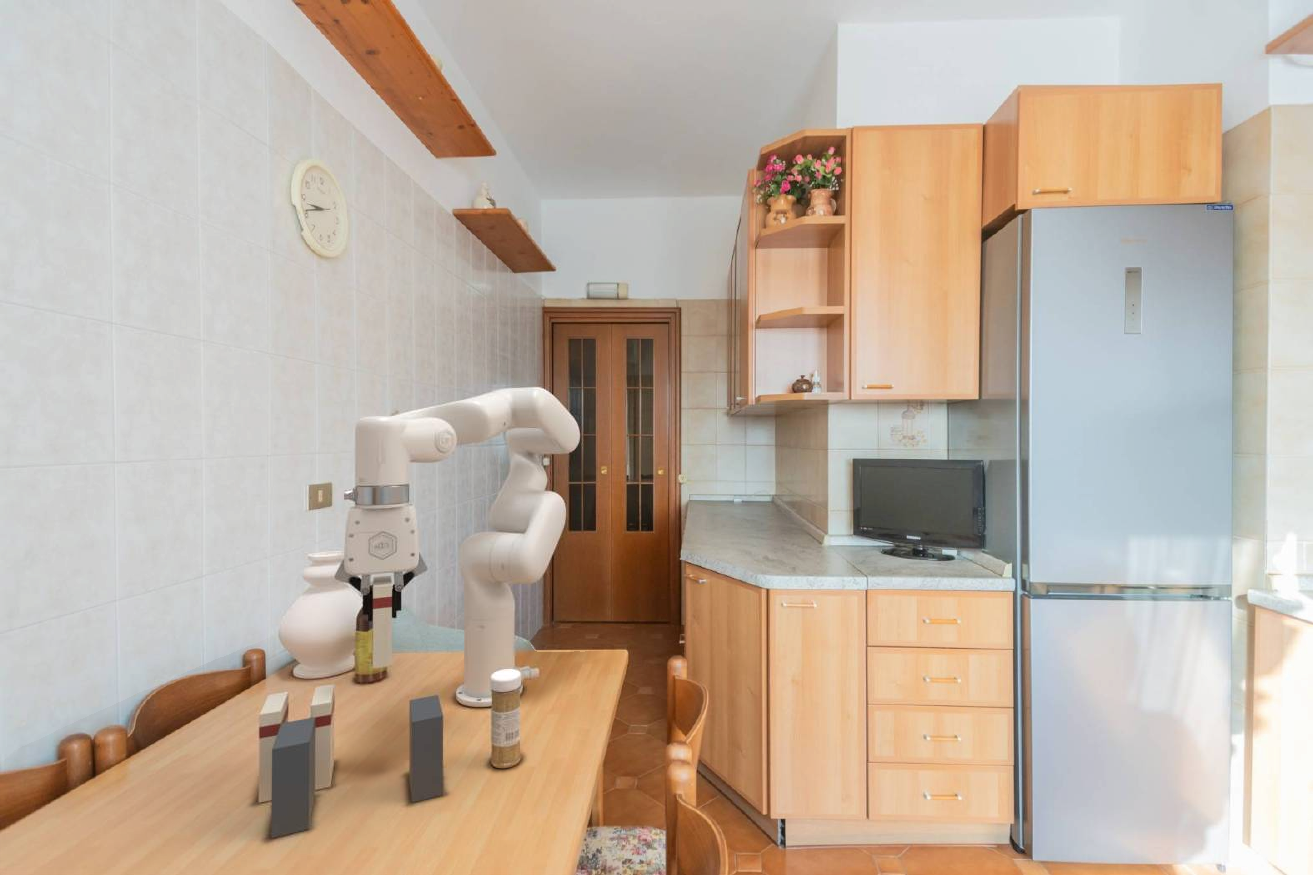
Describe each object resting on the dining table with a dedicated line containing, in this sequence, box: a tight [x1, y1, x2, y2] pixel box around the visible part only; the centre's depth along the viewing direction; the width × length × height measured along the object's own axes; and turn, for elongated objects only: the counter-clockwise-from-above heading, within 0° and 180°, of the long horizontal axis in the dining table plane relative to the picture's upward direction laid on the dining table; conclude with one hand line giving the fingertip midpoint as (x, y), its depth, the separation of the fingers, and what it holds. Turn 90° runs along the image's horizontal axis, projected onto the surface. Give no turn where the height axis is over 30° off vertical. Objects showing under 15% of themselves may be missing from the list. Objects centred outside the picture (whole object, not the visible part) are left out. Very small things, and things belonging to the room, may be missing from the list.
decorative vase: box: [278, 550, 363, 680], centre depth 126 cm, size 18×18×25 cm
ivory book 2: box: [310, 683, 336, 791], centre depth 84 cm, size 2×7×12 cm, turn 26°
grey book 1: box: [270, 717, 316, 840], centre depth 75 cm, size 4×8×11 cm, turn 26°
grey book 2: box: [408, 694, 444, 804], centre depth 82 cm, size 4×8×11 cm, turn 26°
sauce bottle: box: [354, 581, 389, 684], centre depth 120 cm, size 7×6×20 cm
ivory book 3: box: [372, 575, 393, 669], centre depth 87 cm, size 2×7×12 cm, turn 26°
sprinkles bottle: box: [490, 669, 522, 769], centre depth 87 cm, size 5×5×14 cm
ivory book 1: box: [258, 691, 289, 804], centre depth 81 cm, size 2×7×12 cm, turn 26°
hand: (382, 616), depth 87 cm, fingers closed on ivory book 3, 2 cm apart
